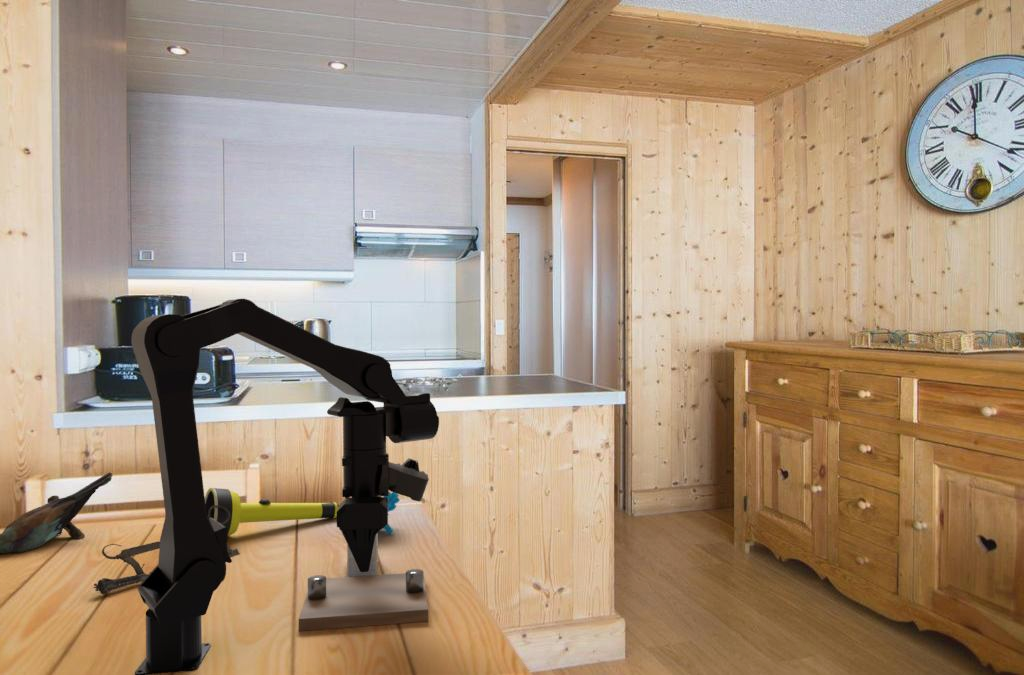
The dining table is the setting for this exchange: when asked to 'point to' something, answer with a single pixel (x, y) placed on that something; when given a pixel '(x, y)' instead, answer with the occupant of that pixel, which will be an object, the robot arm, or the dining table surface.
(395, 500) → the blue jagged branching piece
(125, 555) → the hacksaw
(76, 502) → the bird figurine
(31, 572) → the dining table surface
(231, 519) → the flashlight
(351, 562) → the medicine box
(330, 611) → the board
